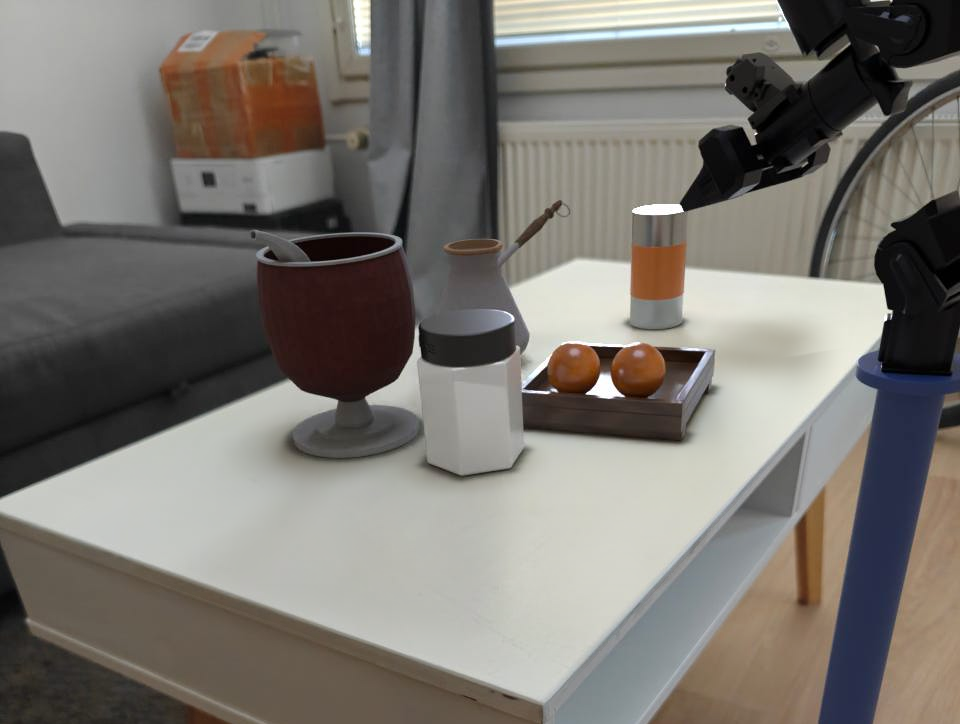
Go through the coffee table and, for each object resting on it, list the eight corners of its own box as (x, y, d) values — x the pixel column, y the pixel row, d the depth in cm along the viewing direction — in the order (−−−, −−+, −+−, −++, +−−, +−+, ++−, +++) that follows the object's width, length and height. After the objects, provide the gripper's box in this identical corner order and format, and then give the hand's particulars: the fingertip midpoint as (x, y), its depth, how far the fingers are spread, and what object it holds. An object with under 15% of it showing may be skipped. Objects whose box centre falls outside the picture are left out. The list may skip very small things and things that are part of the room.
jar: (449, 436, 88) (437, 306, 81) (531, 440, 86) (526, 307, 79) (416, 474, 81) (401, 335, 74) (505, 479, 79) (498, 337, 72)
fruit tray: (712, 385, 95) (718, 310, 91) (680, 443, 83) (685, 360, 79) (564, 376, 100) (563, 305, 96) (513, 429, 88) (509, 351, 84)
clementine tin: (687, 316, 117) (693, 204, 109) (676, 330, 112) (682, 214, 104) (636, 314, 119) (639, 204, 112) (623, 328, 114) (626, 214, 107)
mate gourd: (350, 400, 98) (320, 194, 87) (455, 420, 91) (437, 199, 80) (243, 451, 88) (193, 226, 77) (352, 478, 81) (314, 234, 70)
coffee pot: (483, 386, 99) (473, 237, 91) (410, 369, 106) (395, 228, 98) (603, 337, 112) (604, 201, 103) (531, 324, 118) (526, 196, 110)
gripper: (835, 19, 93) (717, 122, 105) (738, 29, 82) (620, 143, 94) (883, 121, 94) (761, 211, 106) (794, 145, 83) (670, 242, 96)
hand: (705, 200), depth 101 cm, fingers open, 9 cm apart
